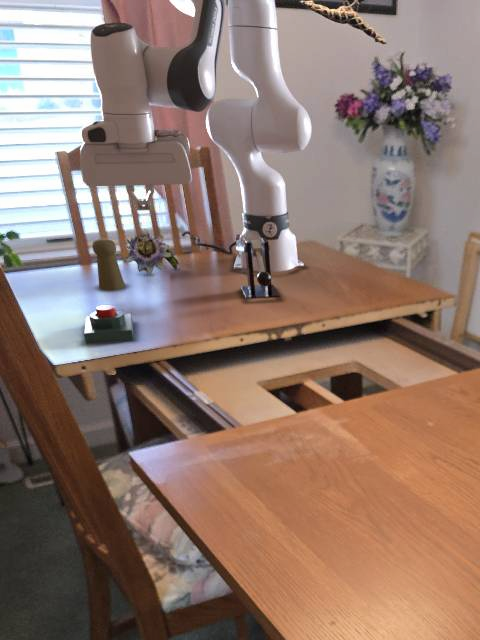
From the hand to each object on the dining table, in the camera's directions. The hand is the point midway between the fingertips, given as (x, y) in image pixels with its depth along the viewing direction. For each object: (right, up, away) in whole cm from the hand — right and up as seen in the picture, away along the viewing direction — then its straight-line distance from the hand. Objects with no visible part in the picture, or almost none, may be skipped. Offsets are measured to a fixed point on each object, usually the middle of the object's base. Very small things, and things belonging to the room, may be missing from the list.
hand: (144, 209), depth 140 cm
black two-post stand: (+17, -7, +30) cm, 35 cm away
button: (-9, -20, +4) cm, 22 cm away
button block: (-9, -23, +6) cm, 25 cm away
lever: (+18, -3, +23) cm, 30 cm away
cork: (-20, -4, +32) cm, 38 cm away
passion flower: (-14, +5, +46) cm, 48 cm away
